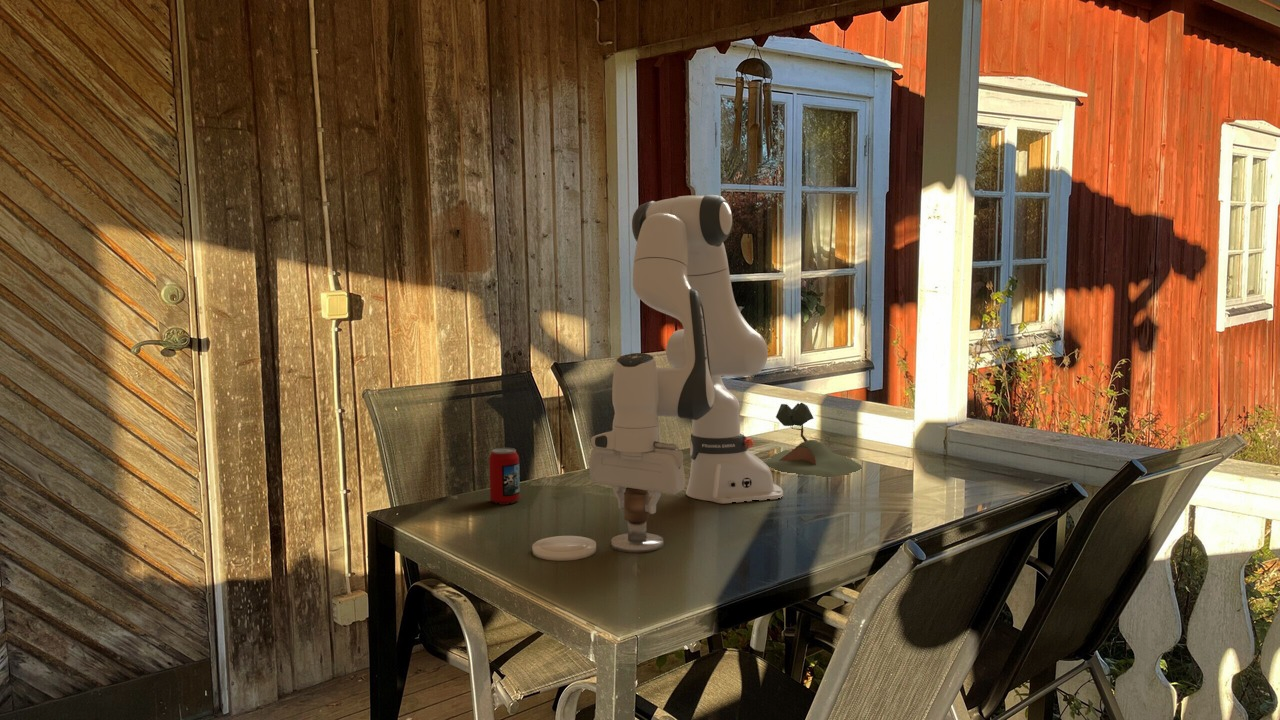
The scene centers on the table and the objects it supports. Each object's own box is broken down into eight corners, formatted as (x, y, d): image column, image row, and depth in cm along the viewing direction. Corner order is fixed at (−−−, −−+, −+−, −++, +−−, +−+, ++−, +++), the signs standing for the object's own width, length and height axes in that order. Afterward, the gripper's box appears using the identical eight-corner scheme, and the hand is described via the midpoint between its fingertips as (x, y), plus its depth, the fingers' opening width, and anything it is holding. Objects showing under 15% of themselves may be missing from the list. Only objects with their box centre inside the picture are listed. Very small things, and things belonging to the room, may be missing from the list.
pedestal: (660, 536, 189) (659, 511, 188) (666, 551, 179) (665, 525, 178) (609, 538, 188) (609, 513, 187) (613, 553, 178) (612, 527, 177)
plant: (788, 450, 278) (788, 389, 276) (893, 467, 252) (894, 400, 250) (722, 465, 258) (721, 399, 256) (829, 485, 233) (829, 413, 231)
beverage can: (514, 505, 214) (513, 453, 213) (486, 504, 216) (484, 452, 215) (524, 498, 221) (522, 447, 220) (496, 497, 222) (495, 446, 221)
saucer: (594, 540, 186) (594, 533, 186) (597, 559, 175) (597, 551, 174) (533, 542, 185) (532, 535, 185) (531, 561, 173) (531, 554, 173)
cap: (653, 517, 184) (653, 487, 183) (641, 523, 179) (641, 492, 179) (632, 514, 186) (632, 485, 185) (619, 519, 182) (619, 490, 181)
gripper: (691, 442, 178) (691, 514, 179) (603, 432, 189) (604, 500, 191) (673, 447, 173) (673, 522, 174) (584, 437, 184) (585, 507, 186)
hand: (637, 510), depth 183 cm, fingers closed on cap, 5 cm apart
